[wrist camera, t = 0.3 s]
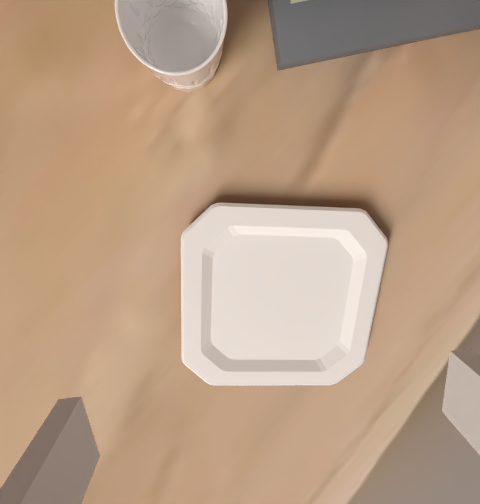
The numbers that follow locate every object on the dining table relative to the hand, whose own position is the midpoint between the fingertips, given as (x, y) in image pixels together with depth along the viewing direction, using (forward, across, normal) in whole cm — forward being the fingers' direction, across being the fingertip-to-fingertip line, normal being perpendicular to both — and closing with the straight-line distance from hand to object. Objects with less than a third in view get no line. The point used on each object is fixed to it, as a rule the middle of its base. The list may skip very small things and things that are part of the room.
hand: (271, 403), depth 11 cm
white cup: (+28, -3, +18) cm, 33 cm away
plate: (+28, +5, -10) cm, 30 cm away
